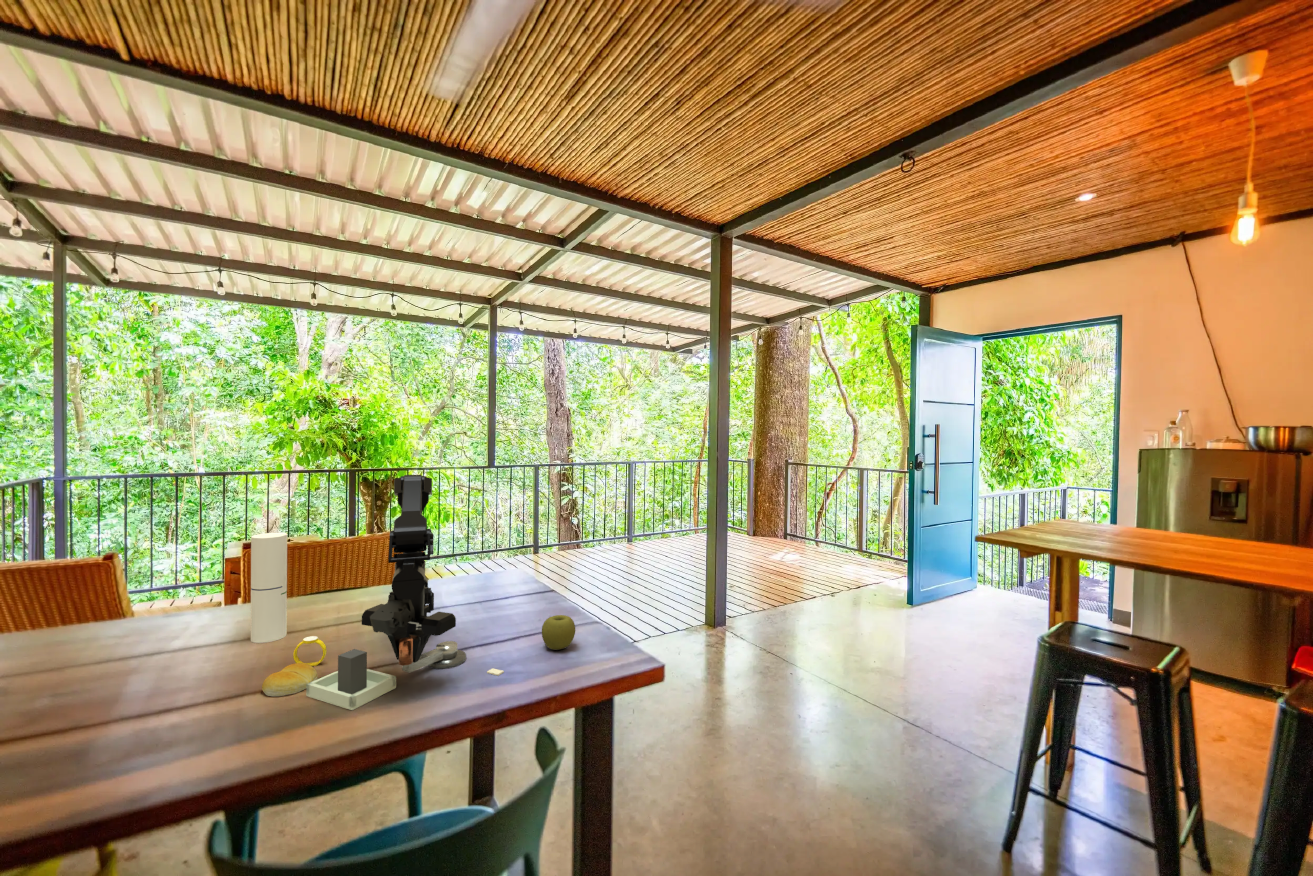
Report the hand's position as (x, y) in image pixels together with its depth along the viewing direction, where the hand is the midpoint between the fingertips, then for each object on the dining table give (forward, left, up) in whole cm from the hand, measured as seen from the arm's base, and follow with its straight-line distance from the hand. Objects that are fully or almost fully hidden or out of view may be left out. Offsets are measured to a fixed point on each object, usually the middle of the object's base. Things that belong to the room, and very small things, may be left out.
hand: (407, 660), depth 112 cm
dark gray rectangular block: (-5, -9, -3) cm, 10 cm away
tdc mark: (+14, +10, -4) cm, 18 cm away
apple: (+19, +27, -4) cm, 33 cm away
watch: (-24, -4, -4) cm, 25 cm away
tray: (-5, -9, -4) cm, 11 cm away
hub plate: (+1, +10, -4) cm, 11 cm away
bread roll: (-18, -12, -4) cm, 22 cm away
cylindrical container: (-48, +2, -4) cm, 48 cm away
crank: (0, +5, -3) cm, 6 cm away
